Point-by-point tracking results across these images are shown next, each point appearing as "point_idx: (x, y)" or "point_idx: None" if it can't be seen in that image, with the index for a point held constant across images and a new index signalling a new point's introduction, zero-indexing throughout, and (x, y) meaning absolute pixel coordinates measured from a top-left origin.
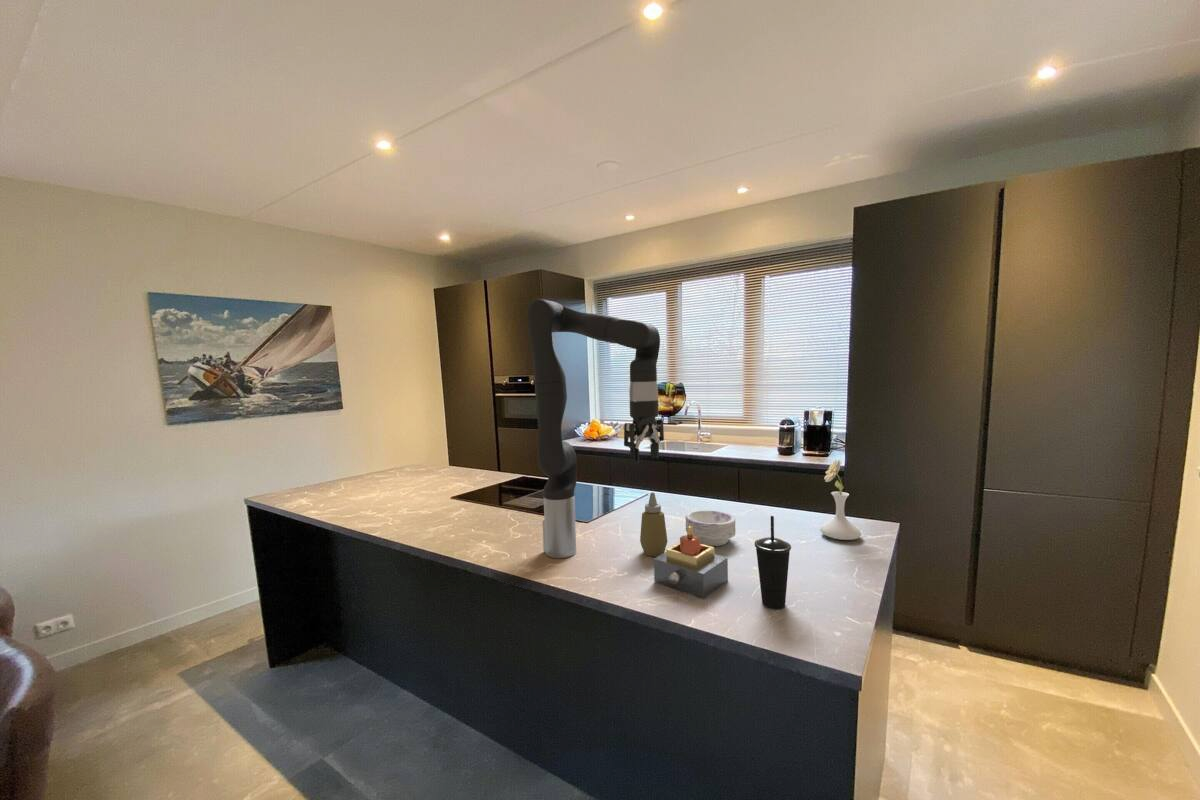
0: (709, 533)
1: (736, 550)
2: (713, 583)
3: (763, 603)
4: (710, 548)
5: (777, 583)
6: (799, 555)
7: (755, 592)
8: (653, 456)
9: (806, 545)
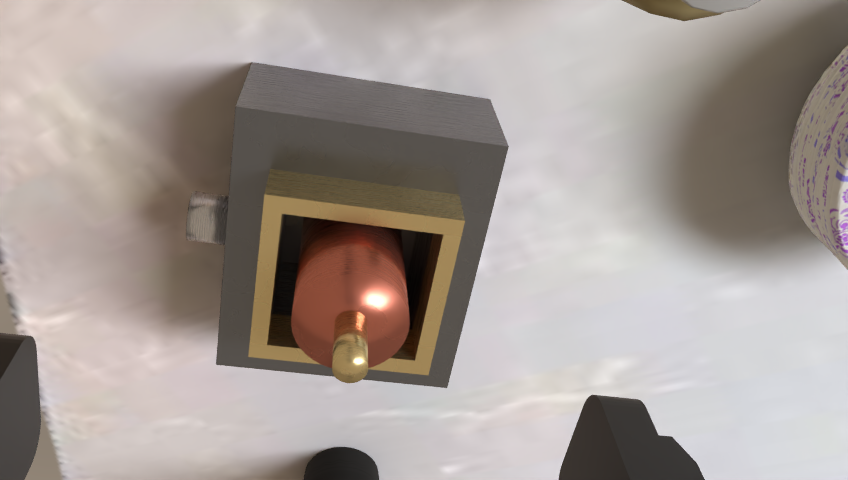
0: (804, 191)
1: (791, 257)
2: None
3: (315, 458)
4: (404, 366)
5: None
6: (802, 459)
7: (394, 416)
8: (578, 447)
9: None
